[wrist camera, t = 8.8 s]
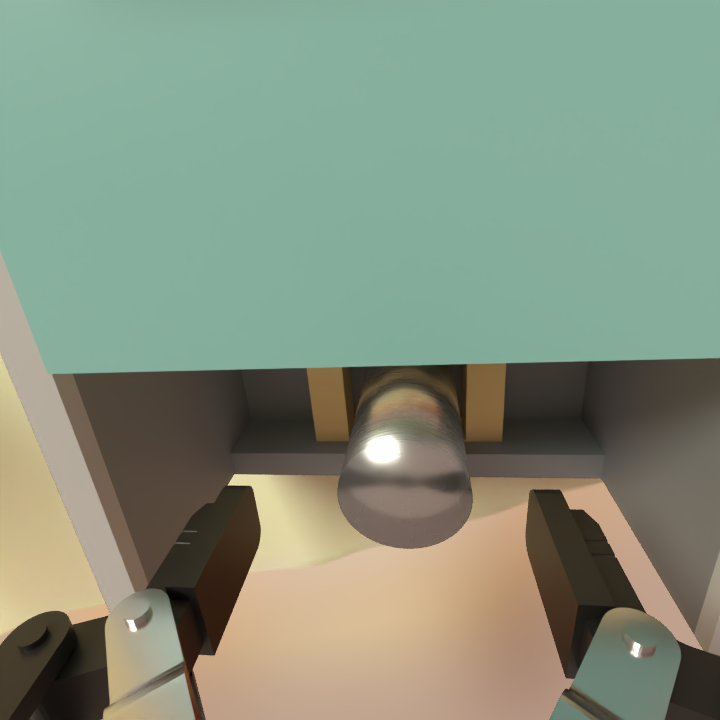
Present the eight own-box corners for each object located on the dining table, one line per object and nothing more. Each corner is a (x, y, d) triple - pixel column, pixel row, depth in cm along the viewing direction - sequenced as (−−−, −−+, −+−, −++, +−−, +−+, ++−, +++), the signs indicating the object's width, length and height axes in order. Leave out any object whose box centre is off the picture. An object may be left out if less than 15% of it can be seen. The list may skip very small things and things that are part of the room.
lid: (71, 360, 11) (-55, 430, 8) (-154, -272, 7) (-581, -601, 4) (776, 340, 9) (956, 426, 6) (1061, -609, 5) (2152, -1935, 2)
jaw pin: (366, 330, 21) (332, 440, 13) (453, 330, 20) (476, 444, 12) (370, 404, 22) (341, 544, 14) (450, 406, 22) (469, 552, 14)
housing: (241, 434, 25) (114, 624, 15) (149, -5, 18) (-264, -273, 7) (596, 433, 23) (752, 665, 12) (672, -87, 15) (1307, -730, 4)
